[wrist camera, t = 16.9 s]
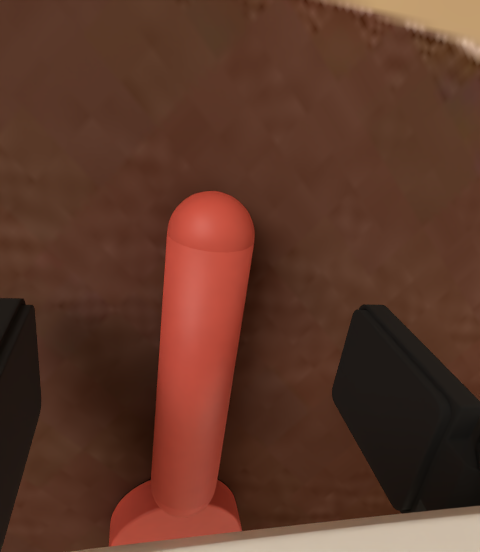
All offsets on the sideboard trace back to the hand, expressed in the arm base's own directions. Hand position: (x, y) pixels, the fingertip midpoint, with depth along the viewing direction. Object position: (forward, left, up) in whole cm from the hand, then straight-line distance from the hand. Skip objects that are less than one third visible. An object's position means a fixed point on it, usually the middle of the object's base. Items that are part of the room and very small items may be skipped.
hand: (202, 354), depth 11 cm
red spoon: (0, -3, -1) cm, 3 cm away
